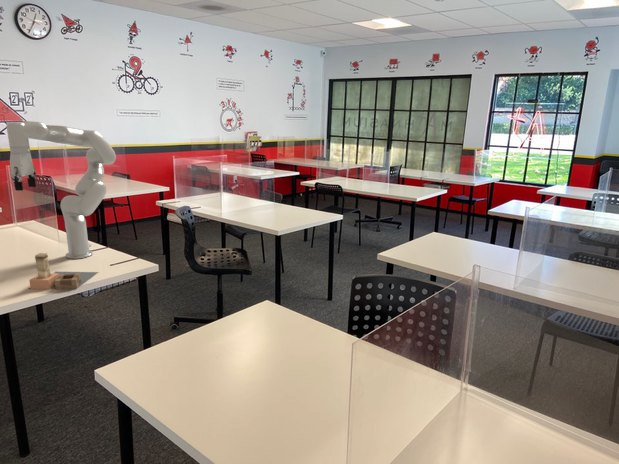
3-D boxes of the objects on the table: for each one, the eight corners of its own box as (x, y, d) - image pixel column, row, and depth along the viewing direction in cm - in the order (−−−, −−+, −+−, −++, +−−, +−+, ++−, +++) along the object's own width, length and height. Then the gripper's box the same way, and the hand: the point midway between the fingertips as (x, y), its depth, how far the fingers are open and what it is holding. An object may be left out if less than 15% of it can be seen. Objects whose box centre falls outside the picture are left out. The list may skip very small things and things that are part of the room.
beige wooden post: (44, 283, 193) (39, 253, 190) (51, 284, 193) (47, 253, 190) (39, 286, 190) (34, 255, 186) (47, 286, 190) (42, 255, 186)
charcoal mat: (55, 272, 208) (55, 271, 208) (98, 273, 208) (98, 272, 208) (28, 289, 188) (28, 288, 188) (76, 290, 188) (75, 289, 188)
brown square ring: (61, 283, 194) (59, 274, 193) (81, 281, 196) (80, 273, 195) (56, 290, 187) (54, 281, 186) (77, 288, 189) (75, 279, 188)
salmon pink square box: (41, 281, 196) (40, 273, 195) (60, 282, 196) (58, 273, 195) (30, 288, 188) (29, 279, 187) (49, 289, 188) (48, 280, 187)
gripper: (23, 148, 208) (29, 185, 212) (-2, 152, 191) (5, 191, 196) (39, 149, 208) (45, 185, 212) (16, 152, 191) (22, 192, 196)
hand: (26, 188), depth 204 cm, fingers open, 9 cm apart
